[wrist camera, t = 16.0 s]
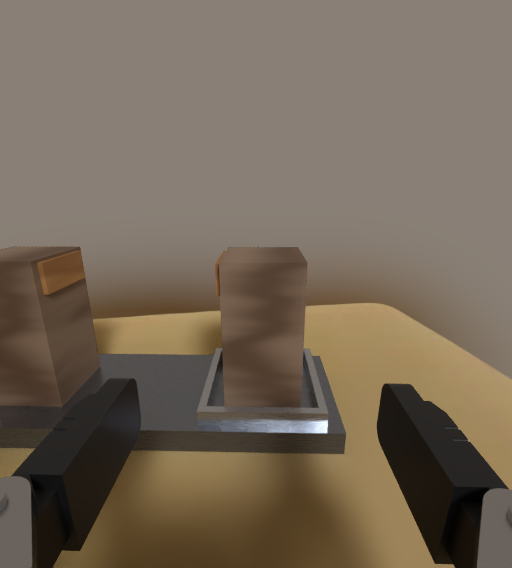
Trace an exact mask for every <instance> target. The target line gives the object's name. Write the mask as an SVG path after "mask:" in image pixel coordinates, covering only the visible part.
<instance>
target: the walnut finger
mask: <svg viewBox="0 0 512 568" xmlns="http://www.w3.org/2000/svg"><path fill="white" fill-rule="evenodd" d="M215 271H216V272H215V273H216V295H217V296H220V302H221V330H222V356H223V382H224V407H291V408H301V388H302V367H303V345H304V324H305V302H306V281H307V261H306V260H305V258H304V256H303V255H302V253H301V252H300V250H299V248H298V247H229V248H228V249H227V251H224V252H223V253H222V255H221V256H220V258H219V259H218V261H217V262H216V263H215Z"/></svg>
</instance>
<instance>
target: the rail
mask: <svg viewBox="0 0 512 568" xmlns="http://www.w3.org/2000/svg"><path fill="white" fill-rule="evenodd" d="M98 356H99V362H100V367H99V368H98V369H97V370H96V371H95V372H94V373H93V374H92V375H91V377H90V378H89V379H88V380H87V381H86V382H85V383H84V384H83V385H82V386H81V387H80V388H79V389H78V390H77V391H76V392H75V394H74V395H73V396H72V397H71V398H70V399H69V400H68V401H67V402H66V403H65V404H64V405H63V406H62V407H54V406H0V447H4V448H36V447H37V446H38V445H39V444H40V443H41V442H42V441H43V440H44V438H45V437H46V436H47V435H48V434H49V433H50V432H52V431H53V428H54V427H55V426H56V425H57V424H58V423H59V422H60V420H63V417H64V416H65V415H66V414H67V413H68V411H69V410H70V409H71V408H72V407H73V406H74V405H75V404H76V403H78V402H79V401H81V400H82V399H84V398H85V397H87V396H88V395H90V394H96V393H97V392H98V391H99V389H100V388H101V387H102V386H103V385H104V383H105V382H106V381H107V380H108V379H109V378H134V379H135V380H136V383H137V389H138V397H139V405H140V412H141V427H140V432H139V435H138V438H137V440H136V442H135V444H134V446H133V448H132V450H167V451H221V452H275V453H329V454H344V449H345V439H346V432H345V429H344V426H343V423H342V420H341V417H340V415H339V412H338V409H337V406H336V403H335V400H334V397H333V394H332V391H331V388H330V385H329V382H328V379H327V376H326V373H325V370H324V367H323V364H322V361H321V359H320V356H312V355H311V352H310V349H303V367H302V388H301V408H291V407H224V382H223V356H222V348H216V350H215V354H214V355H159V354H98Z"/></svg>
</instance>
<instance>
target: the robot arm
mask: <svg viewBox="0 0 512 568" xmlns="http://www.w3.org/2000/svg"><path fill="white" fill-rule="evenodd" d="M140 427H141V412H140V405H139V397H138V389H137V383H136V380H135V379H134V378H109V379H108V380H107V381H106V382H105V383H104V385H103V386H102V387H101V388H100V389H99V391H98V392H97V393H96V394H90V395H88V396H87V397H85V398H84V399H82V400H81V401H79V402H78V403H76V404H75V405H74V406H73V407H72V408H71V409H70V410H69V411H68V413H67V414H66V415H65V416H64V417H63V420H60V422H59V423H58V424H57V425H56V426H55V427H54V428H53V431H52V432H50V433H49V434H48V435H47V436H46V437H45V438H44V440H43V441H42V442H41V443H40V444H39V445H38V446H37V447H36V449H35V450H34V451H33V452H32V453H31V454H30V455H29V456H28V458H27V459H26V460H25V461H24V462H23V463H22V464H21V465H20V467H19V468H18V469H17V470H16V471H15V472H14V473H13V475H12V476H10V477H5V478H1V479H0V568H53V565H54V564H55V562H56V560H57V558H58V556H59V555H60V553H61V551H62V550H66V551H80V550H81V548H82V546H83V544H84V542H85V540H86V538H87V536H88V534H89V532H90V530H91V528H92V526H93V524H94V522H95V520H96V518H97V516H98V515H99V513H100V511H101V509H102V507H103V505H104V503H105V501H106V499H107V497H108V495H109V493H110V491H111V489H112V487H113V485H114V483H115V481H116V479H117V477H118V475H119V473H120V472H121V470H122V468H123V466H124V464H125V462H126V460H127V458H128V456H129V454H130V452H131V450H132V448H133V446H134V444H135V442H136V440H137V438H138V435H139V432H140ZM377 433H378V439H379V442H380V445H381V447H382V450H383V452H384V454H385V456H386V458H387V460H388V463H389V465H390V467H391V469H392V471H393V473H394V476H395V478H396V480H397V482H398V484H399V487H400V489H401V491H402V493H403V495H404V497H405V500H406V502H407V504H408V506H409V508H410V510H411V513H412V515H413V517H414V519H415V521H416V524H417V526H418V528H419V530H420V532H421V534H422V537H423V539H424V541H425V543H426V545H427V547H428V550H429V552H430V554H431V556H432V558H433V561H434V563H435V564H454V566H455V568H512V490H509V489H508V487H507V486H506V485H505V484H504V483H503V481H502V480H501V479H500V478H499V476H498V475H497V474H496V473H495V472H494V470H493V469H492V468H491V467H490V466H489V464H488V463H487V462H486V461H485V459H484V458H483V457H482V456H481V455H480V453H479V452H478V451H477V450H476V448H475V447H474V446H473V445H472V444H471V442H468V439H467V438H466V436H465V435H464V434H463V433H462V431H461V430H458V427H457V425H456V424H455V423H454V422H453V421H452V419H451V418H450V417H449V416H448V414H447V413H446V412H444V411H443V410H441V409H440V408H439V407H437V406H436V405H435V404H433V403H432V402H430V401H423V399H422V398H421V397H420V395H419V394H418V393H417V391H416V390H415V389H414V387H413V386H412V385H410V384H384V385H383V387H382V392H381V399H380V406H379V413H378V420H377Z"/></svg>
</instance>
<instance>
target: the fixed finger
mask: <svg viewBox="0 0 512 568" xmlns="http://www.w3.org/2000/svg"><path fill="white" fill-rule="evenodd" d="M99 367H100V362H99V356H98V350H97V344H96V338H95V332H94V326H93V321H92V315H91V309H90V303H89V297H88V291H87V285H86V280H85V273H84V268H83V262H82V256H81V250H80V247H10V248H5V249H1V250H0V406H54V407H62V406H63V405H64V404H65V403H66V402H67V401H68V400H69V399H70V398H71V397H72V396H73V395H74V394H75V392H76V391H77V390H78V389H79V388H80V387H81V386H82V385H83V384H84V383H85V382H86V381H87V380H88V379H89V378H90V377H91V375H92V374H93V373H94V372H95V371H96V370H97V369H98V368H99Z"/></svg>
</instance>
